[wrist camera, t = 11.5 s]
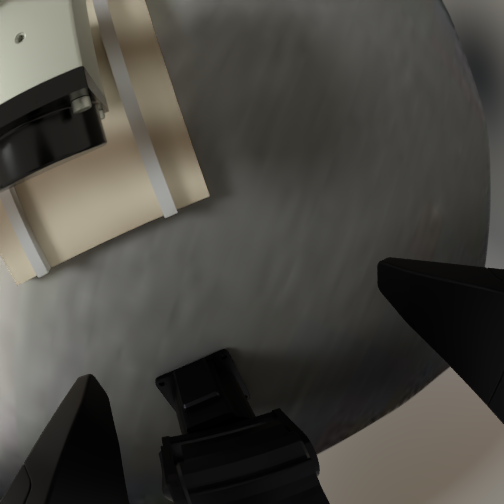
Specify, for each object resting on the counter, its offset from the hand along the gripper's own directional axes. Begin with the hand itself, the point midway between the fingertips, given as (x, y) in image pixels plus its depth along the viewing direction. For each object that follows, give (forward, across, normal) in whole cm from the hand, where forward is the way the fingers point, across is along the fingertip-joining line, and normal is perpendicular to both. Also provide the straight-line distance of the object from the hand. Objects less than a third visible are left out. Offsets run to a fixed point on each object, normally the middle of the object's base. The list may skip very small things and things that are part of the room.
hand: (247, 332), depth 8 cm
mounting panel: (+13, +6, -11) cm, 18 cm away
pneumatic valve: (+12, +5, -11) cm, 17 cm away
